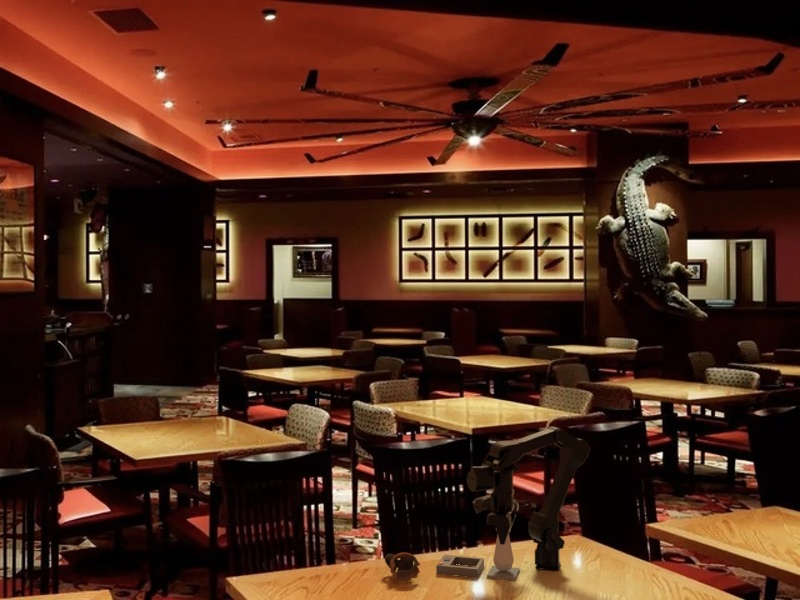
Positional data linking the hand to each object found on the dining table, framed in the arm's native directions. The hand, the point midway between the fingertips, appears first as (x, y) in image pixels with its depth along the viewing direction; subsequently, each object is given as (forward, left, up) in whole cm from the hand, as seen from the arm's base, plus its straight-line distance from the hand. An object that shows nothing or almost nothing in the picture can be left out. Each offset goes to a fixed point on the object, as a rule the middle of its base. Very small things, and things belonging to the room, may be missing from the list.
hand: (503, 542), depth 225 cm
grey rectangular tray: (+13, 0, -9) cm, 16 cm away
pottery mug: (+27, +11, -10) cm, 31 cm away
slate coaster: (0, 0, -9) cm, 9 cm away
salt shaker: (0, 0, -8) cm, 8 cm away
